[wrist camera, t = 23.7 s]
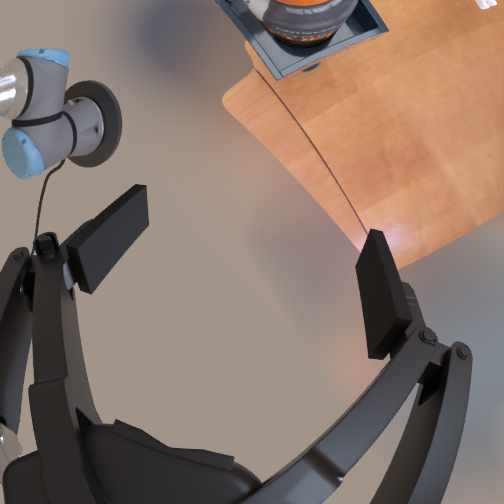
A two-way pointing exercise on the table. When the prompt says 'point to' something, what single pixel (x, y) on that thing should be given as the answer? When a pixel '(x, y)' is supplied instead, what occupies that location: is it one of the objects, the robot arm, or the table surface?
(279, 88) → the table surface
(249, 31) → the square tray stand
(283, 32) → the pill bottle
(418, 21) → the table surface
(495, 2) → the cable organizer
